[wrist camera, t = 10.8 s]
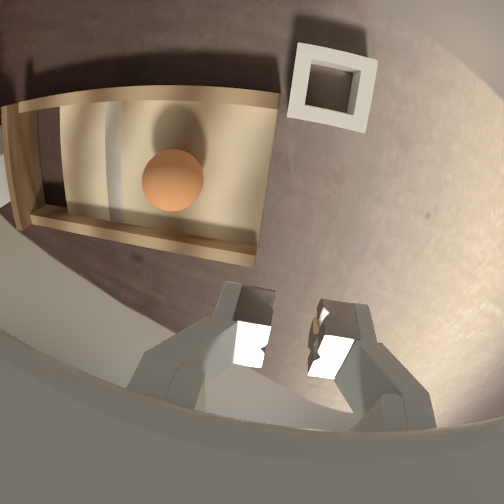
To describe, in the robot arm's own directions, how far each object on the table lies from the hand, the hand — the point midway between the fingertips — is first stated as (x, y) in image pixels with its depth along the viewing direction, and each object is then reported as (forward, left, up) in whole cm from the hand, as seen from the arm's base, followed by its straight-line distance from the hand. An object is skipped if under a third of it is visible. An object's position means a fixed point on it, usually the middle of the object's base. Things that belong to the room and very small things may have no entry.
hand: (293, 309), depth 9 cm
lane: (+13, 0, -13) cm, 18 cm away
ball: (+8, 0, -10) cm, 13 cm away
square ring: (-1, -7, -13) cm, 15 cm away
